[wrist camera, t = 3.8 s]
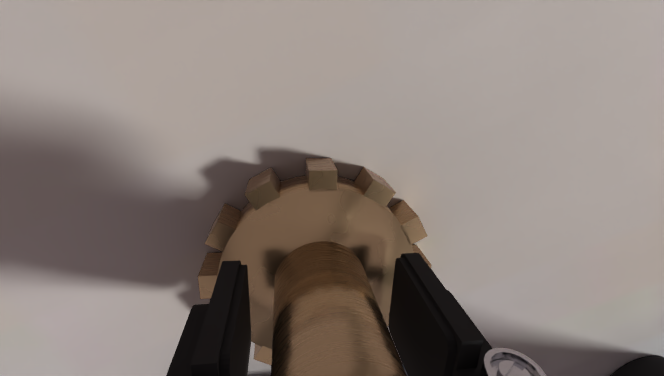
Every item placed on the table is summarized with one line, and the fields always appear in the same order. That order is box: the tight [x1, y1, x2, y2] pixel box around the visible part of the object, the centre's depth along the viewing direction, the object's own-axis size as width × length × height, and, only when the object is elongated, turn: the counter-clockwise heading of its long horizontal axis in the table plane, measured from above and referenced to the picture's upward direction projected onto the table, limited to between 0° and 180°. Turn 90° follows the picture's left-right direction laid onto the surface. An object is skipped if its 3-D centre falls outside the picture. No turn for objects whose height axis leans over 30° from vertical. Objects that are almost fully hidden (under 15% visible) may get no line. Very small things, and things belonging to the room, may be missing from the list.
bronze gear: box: [198, 158, 431, 376], centre depth 10 cm, size 8×8×6 cm
